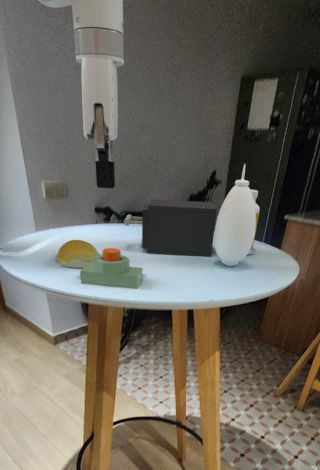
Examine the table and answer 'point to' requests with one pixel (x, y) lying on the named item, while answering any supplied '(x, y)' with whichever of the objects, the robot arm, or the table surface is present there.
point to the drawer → (144, 223)
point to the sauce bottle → (235, 224)
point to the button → (111, 254)
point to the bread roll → (76, 254)
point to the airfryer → (180, 227)
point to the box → (111, 273)
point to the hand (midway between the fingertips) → (106, 187)
